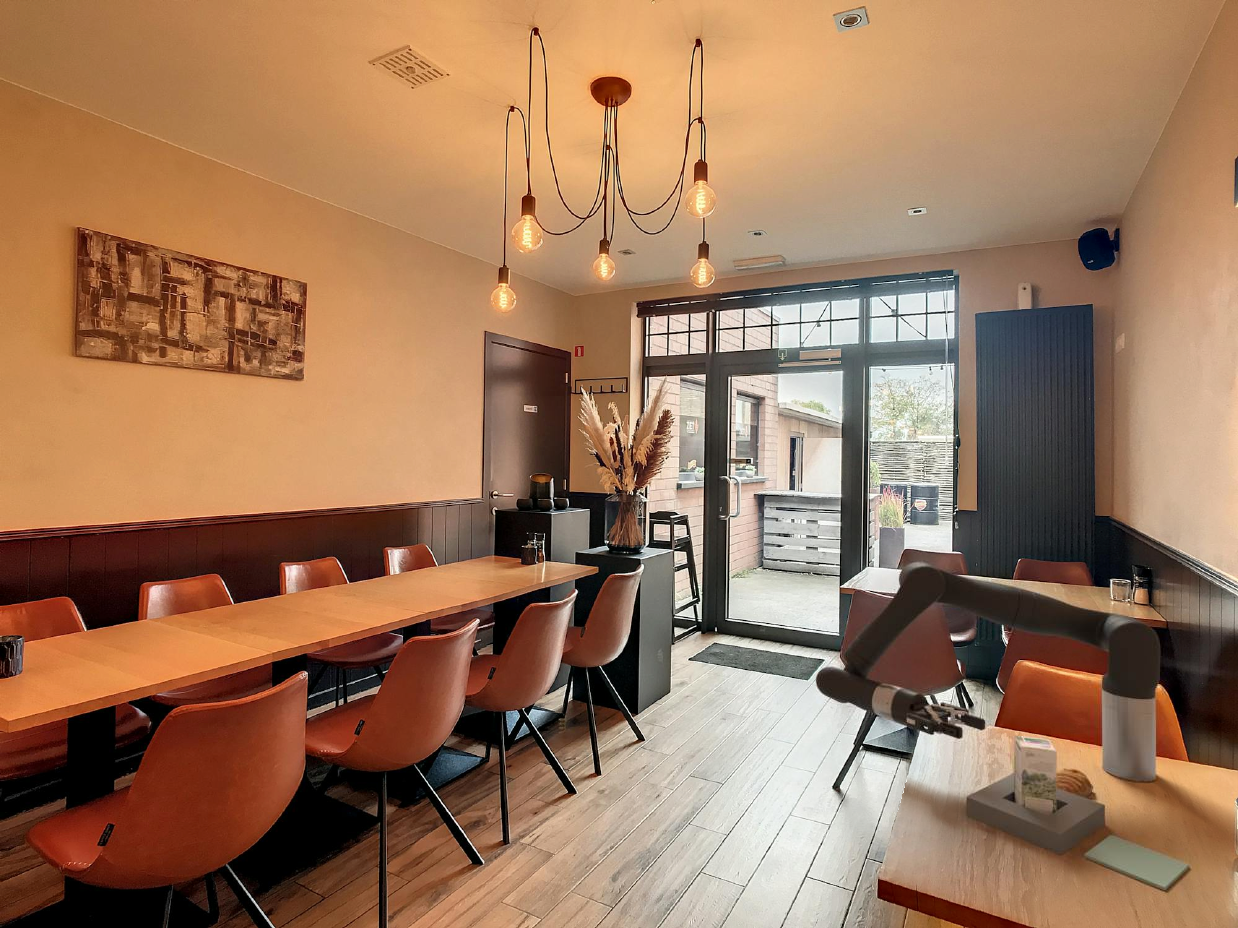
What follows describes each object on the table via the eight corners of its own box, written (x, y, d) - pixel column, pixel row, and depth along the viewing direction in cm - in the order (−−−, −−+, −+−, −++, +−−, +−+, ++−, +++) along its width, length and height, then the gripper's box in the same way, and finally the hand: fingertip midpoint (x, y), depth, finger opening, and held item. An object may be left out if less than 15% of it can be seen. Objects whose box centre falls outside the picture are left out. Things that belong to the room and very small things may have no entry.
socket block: (1013, 790, 137) (1013, 772, 137) (1105, 823, 124) (1104, 804, 124) (966, 815, 127) (966, 796, 127) (1060, 854, 114) (1060, 833, 114)
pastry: (1080, 806, 131) (1080, 786, 131) (1041, 794, 136) (1040, 775, 136) (1094, 791, 137) (1094, 772, 137) (1057, 780, 142) (1056, 762, 143)
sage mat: (1110, 837, 120) (1110, 834, 120) (1189, 867, 111) (1189, 864, 111) (1084, 857, 113) (1083, 854, 113) (1164, 890, 104) (1164, 887, 104)
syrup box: (1048, 814, 128) (1047, 737, 128) (1057, 830, 122) (1056, 749, 122) (1014, 809, 129) (1013, 733, 130) (1021, 824, 124) (1020, 745, 124)
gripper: (880, 693, 144) (954, 717, 131) (918, 682, 153) (991, 704, 139) (879, 728, 144) (953, 755, 131) (917, 716, 152) (991, 740, 139)
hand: (973, 729), depth 135 cm, fingers open, 8 cm apart
